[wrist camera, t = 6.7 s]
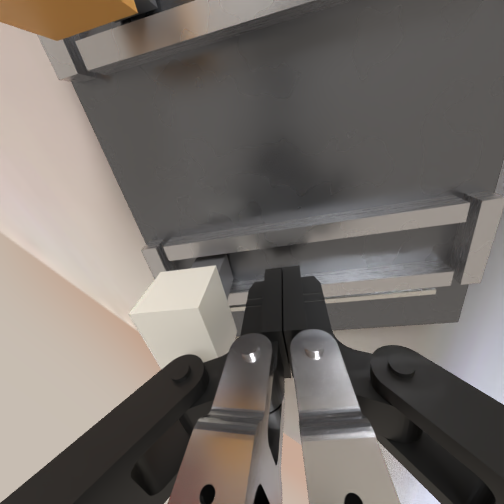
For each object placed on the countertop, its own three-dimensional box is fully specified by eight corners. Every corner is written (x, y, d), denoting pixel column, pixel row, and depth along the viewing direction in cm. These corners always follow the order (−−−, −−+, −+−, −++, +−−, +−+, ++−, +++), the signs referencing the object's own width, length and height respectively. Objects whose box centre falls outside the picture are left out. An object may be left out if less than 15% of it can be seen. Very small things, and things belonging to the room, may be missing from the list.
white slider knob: (229, 234, 12) (198, 307, 7) (244, 292, 13) (227, 380, 9) (183, 241, 12) (128, 314, 8) (204, 296, 14) (168, 382, 9)
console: (651, -626, 4) (1027, -1370, 2) (442, 303, 15) (470, 336, 12) (-27, -206, 7) (-158, -343, 5) (197, 322, 17) (185, 352, 15)
